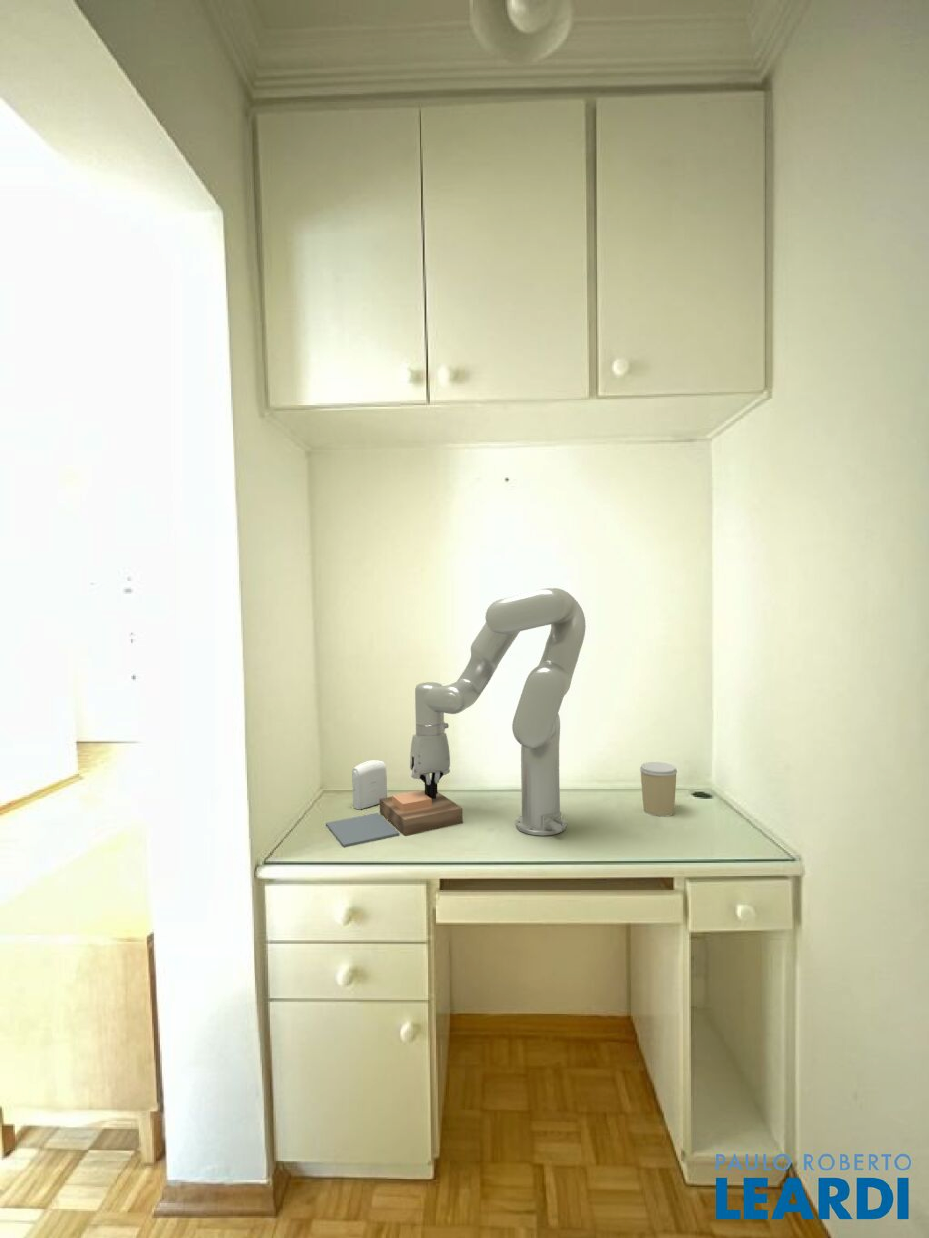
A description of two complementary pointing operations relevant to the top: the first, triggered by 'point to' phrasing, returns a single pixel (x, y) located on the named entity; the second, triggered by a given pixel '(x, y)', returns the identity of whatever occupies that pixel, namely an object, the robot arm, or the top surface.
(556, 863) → the top surface
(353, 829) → the mat
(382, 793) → the photo printer
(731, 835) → the top surface
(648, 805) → the coffee cup
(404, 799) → the tile
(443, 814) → the deck
